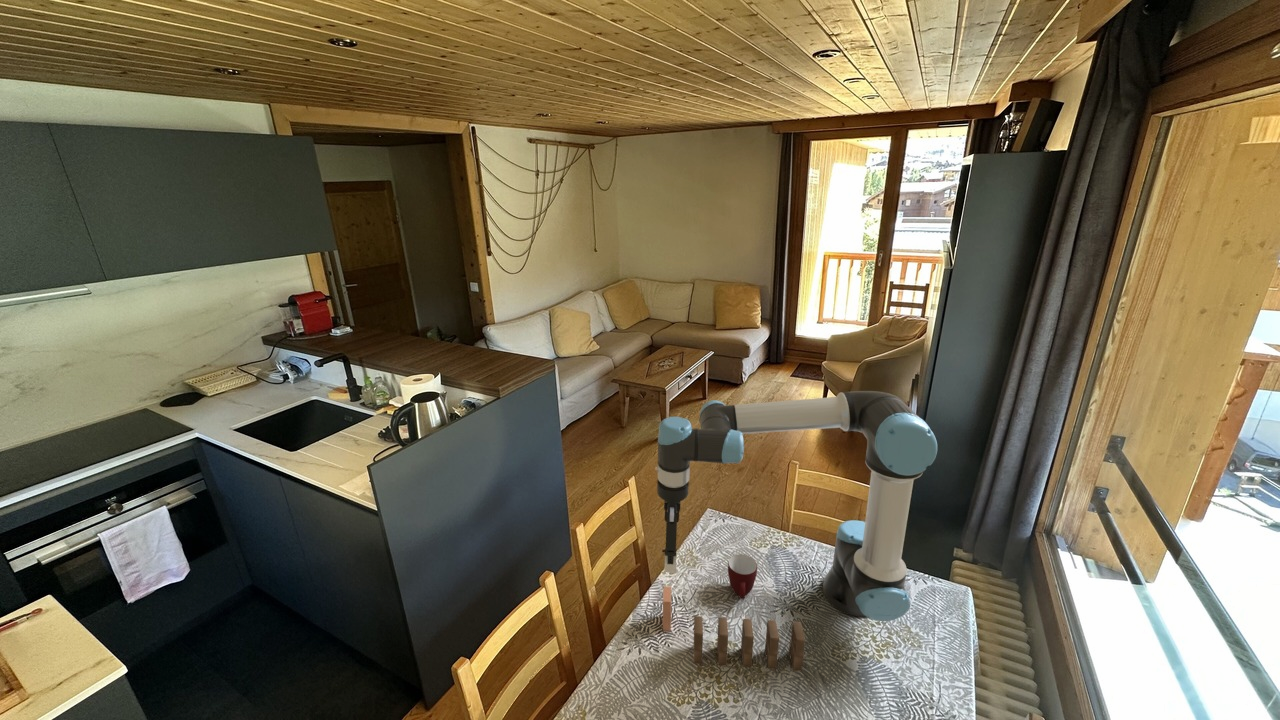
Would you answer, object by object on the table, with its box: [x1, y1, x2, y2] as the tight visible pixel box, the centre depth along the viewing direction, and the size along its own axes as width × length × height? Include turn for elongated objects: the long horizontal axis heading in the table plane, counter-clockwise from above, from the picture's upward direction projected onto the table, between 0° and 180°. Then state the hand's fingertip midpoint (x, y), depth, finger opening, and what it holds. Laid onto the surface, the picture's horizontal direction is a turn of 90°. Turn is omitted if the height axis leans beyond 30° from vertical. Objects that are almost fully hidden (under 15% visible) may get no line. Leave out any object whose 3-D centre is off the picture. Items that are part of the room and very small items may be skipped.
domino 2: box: [693, 615, 704, 665], centre depth 122 cm, size 2×5×10 cm, turn 175°
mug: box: [727, 553, 758, 600], centre depth 140 cm, size 11×8×10 cm
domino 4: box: [740, 618, 755, 668], centre depth 121 cm, size 2×5×10 cm, turn 175°
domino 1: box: [662, 586, 672, 632], centre depth 131 cm, size 2×5×10 cm, turn 175°
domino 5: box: [764, 619, 780, 670], centre depth 120 cm, size 2×5×10 cm, turn 175°
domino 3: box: [716, 617, 729, 667], centre depth 121 cm, size 2×5×10 cm, turn 175°
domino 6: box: [788, 621, 806, 671], centre depth 120 cm, size 2×5×10 cm, turn 175°
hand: (670, 551), depth 124 cm, fingers open, 13 cm apart
